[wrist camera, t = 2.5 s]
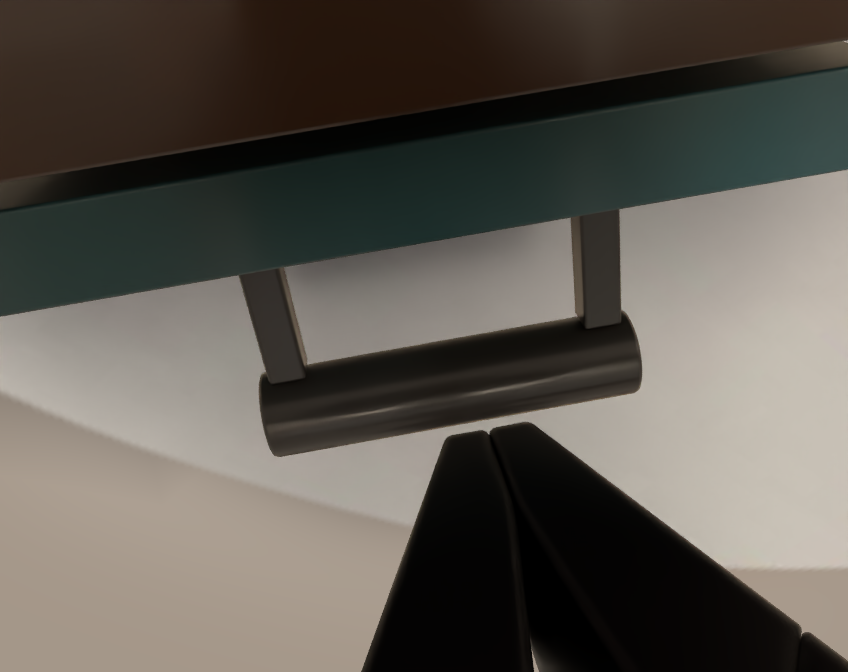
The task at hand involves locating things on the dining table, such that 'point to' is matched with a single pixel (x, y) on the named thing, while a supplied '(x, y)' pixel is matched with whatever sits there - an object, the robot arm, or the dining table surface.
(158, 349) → the dining table surface
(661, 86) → the drawer
